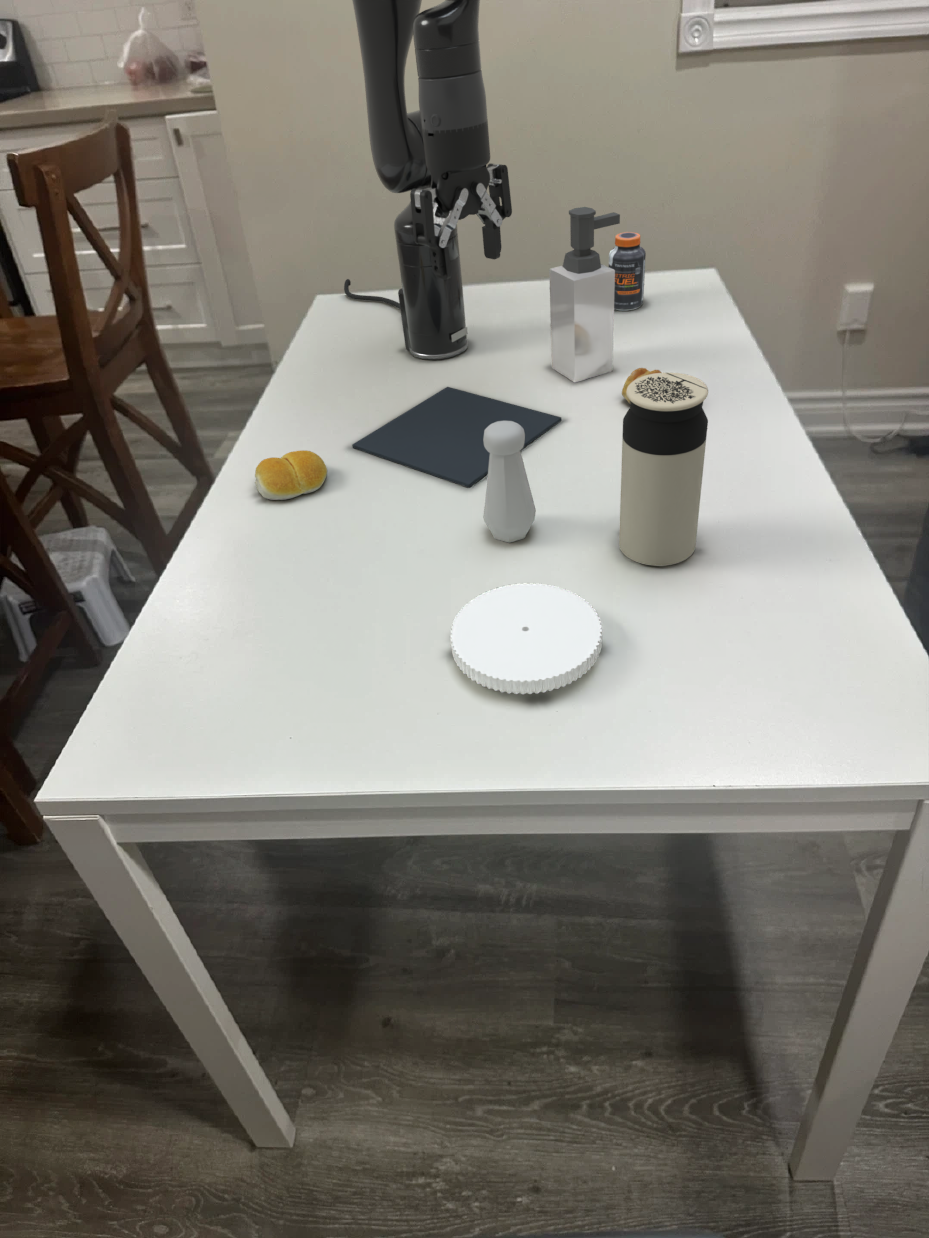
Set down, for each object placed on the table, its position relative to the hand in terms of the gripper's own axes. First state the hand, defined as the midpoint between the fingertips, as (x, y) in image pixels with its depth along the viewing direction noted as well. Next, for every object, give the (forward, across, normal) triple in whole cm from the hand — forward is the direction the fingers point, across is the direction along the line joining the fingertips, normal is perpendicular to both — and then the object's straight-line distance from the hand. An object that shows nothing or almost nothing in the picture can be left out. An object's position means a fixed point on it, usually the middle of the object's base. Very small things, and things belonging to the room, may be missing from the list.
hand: (468, 268), depth 108 cm
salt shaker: (+20, +19, +23) cm, 36 cm away
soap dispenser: (+20, -20, +2) cm, 28 cm away
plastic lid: (+21, +32, +38) cm, 54 cm away
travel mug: (+21, +11, +37) cm, 44 cm away
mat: (+20, +6, +2) cm, 21 cm away
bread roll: (+20, +28, -6) cm, 35 cm away
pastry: (+20, -17, +17) cm, 31 cm away
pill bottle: (+20, -43, -8) cm, 48 cm away
